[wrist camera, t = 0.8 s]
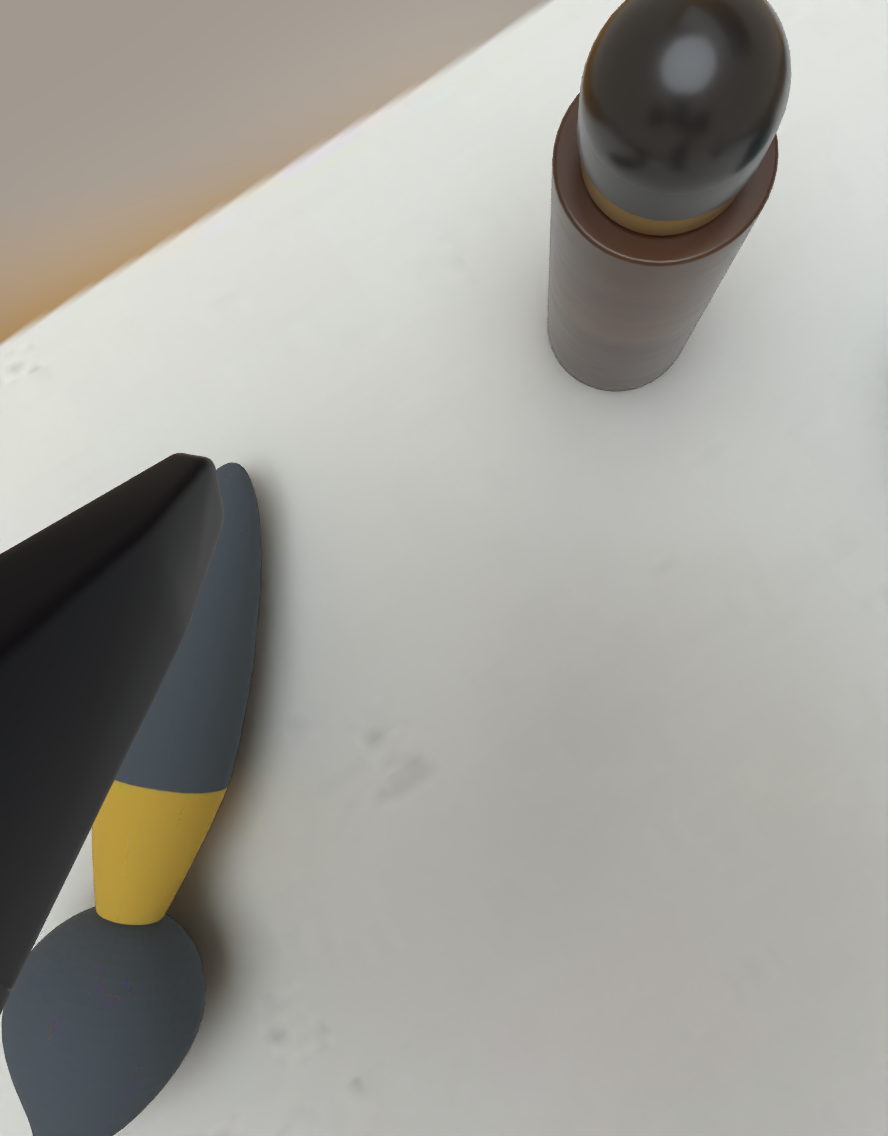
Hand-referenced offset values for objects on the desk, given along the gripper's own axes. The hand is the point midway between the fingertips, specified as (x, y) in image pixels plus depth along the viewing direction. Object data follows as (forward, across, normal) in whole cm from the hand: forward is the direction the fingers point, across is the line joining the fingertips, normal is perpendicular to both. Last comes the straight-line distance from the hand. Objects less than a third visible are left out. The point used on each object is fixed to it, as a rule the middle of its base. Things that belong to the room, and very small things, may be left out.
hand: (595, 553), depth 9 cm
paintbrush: (+4, +10, +17) cm, 20 cm away
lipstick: (+15, -1, +6) cm, 16 cm away
